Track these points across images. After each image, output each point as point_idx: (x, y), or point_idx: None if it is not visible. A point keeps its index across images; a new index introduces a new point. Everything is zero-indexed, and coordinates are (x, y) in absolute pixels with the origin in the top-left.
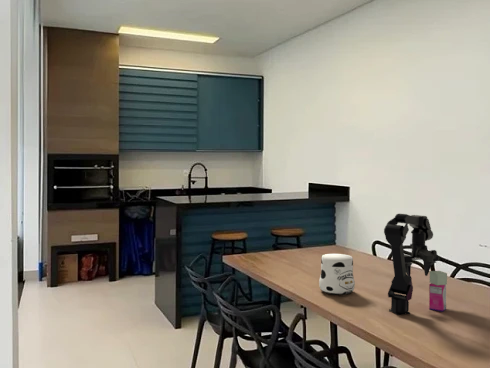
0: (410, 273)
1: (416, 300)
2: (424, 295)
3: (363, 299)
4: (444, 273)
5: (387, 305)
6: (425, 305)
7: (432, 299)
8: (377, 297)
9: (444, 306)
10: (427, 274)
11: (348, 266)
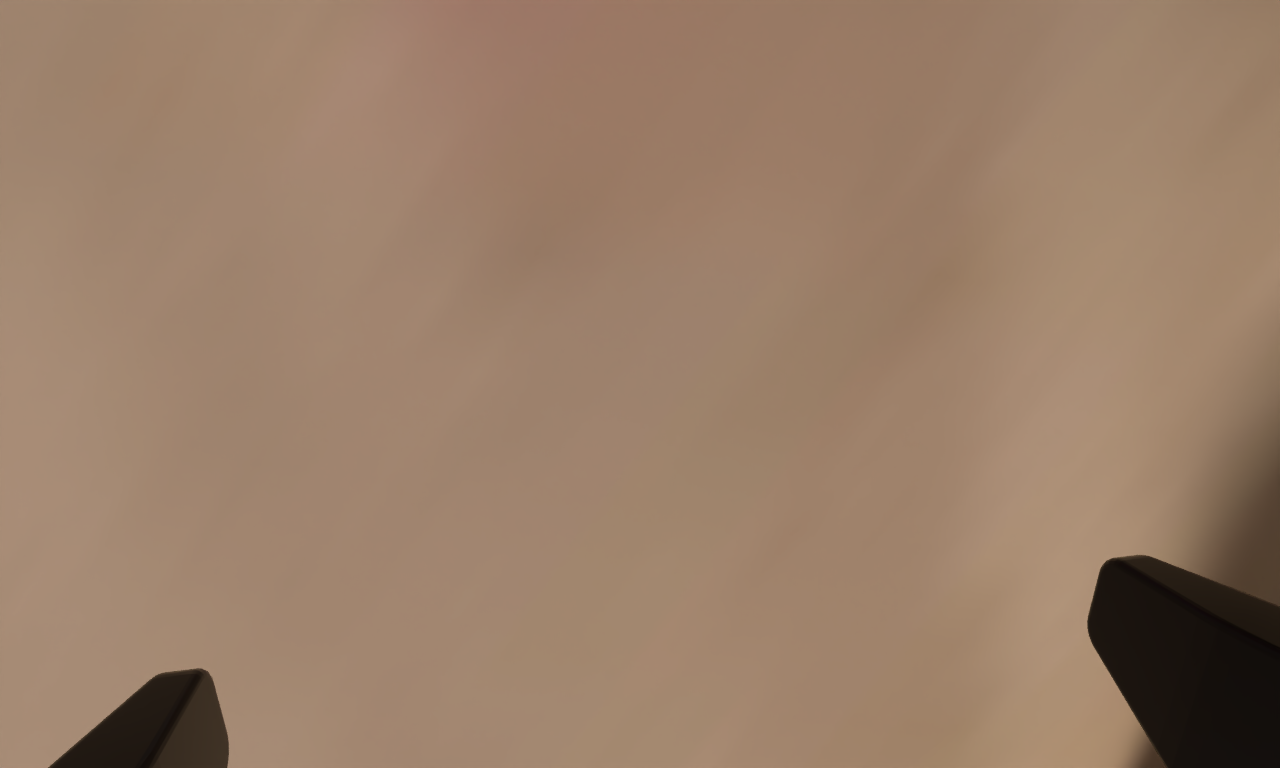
0: (1257, 634)
1: (485, 414)
2: (140, 661)
3: (1244, 574)
4: None
5: (1166, 248)
6: (497, 77)
7: None
8: (1003, 635)
9: None
10: (130, 711)
11: None
